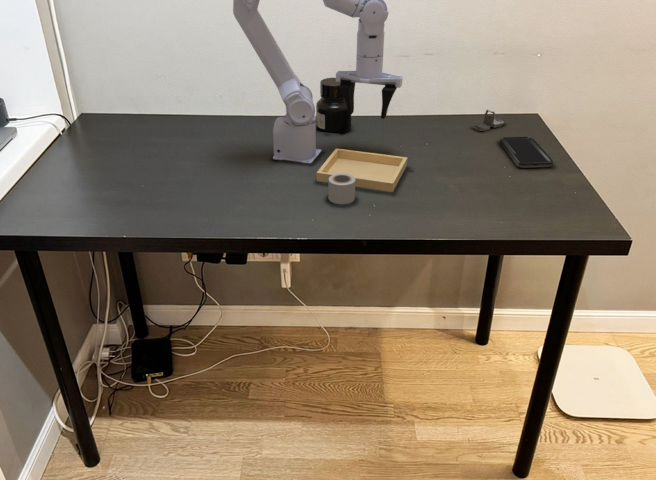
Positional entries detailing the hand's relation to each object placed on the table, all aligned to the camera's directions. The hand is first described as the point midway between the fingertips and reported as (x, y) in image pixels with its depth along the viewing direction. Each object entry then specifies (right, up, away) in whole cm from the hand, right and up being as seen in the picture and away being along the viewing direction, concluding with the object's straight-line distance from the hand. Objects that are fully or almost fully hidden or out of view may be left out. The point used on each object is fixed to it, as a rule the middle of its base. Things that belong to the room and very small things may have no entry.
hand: (367, 115), depth 146 cm
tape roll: (-7, -21, -14) cm, 26 cm away
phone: (+37, -8, +3) cm, 38 cm away
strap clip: (+33, +1, +18) cm, 37 cm away
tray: (-2, -14, -4) cm, 15 cm away
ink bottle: (-7, +1, +19) cm, 20 cm away
